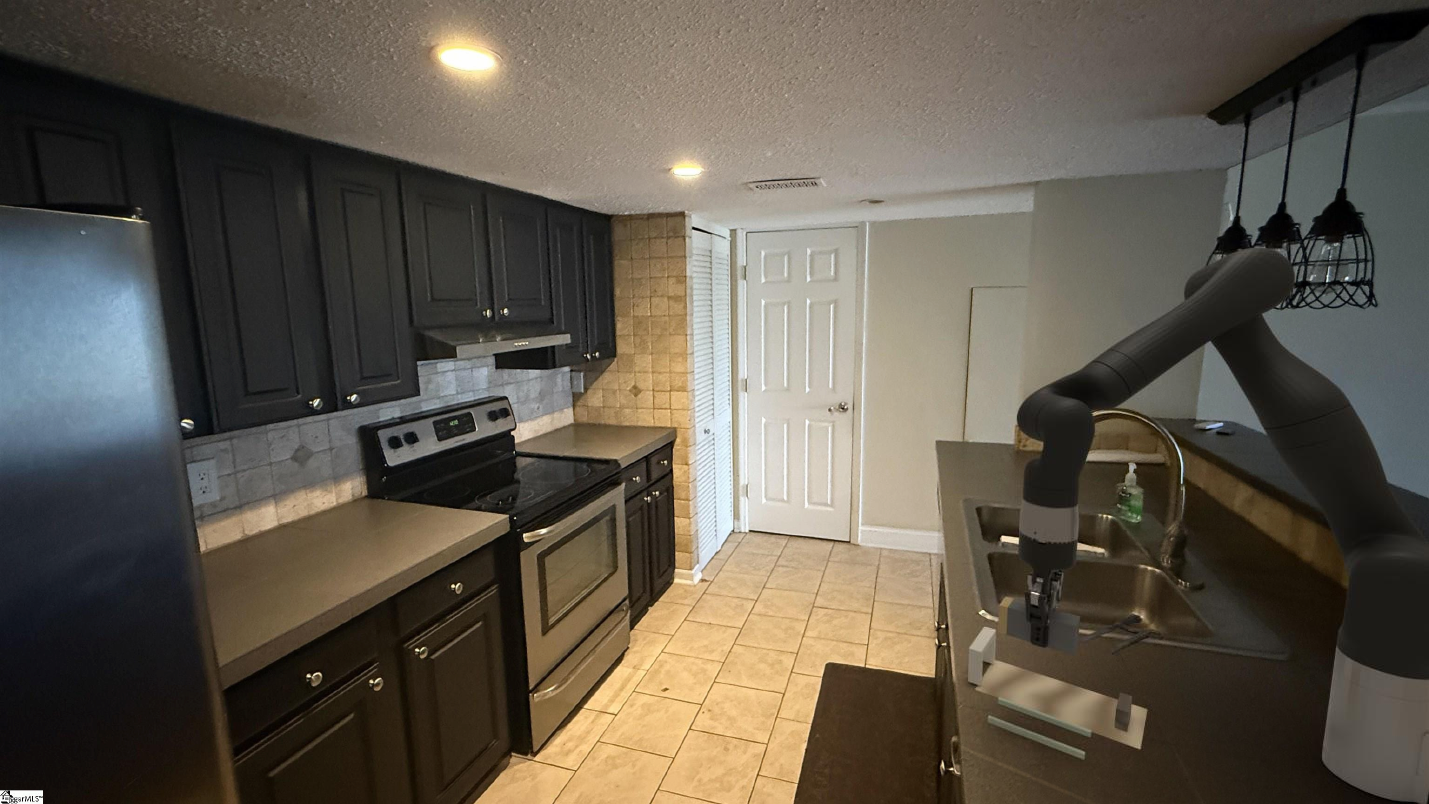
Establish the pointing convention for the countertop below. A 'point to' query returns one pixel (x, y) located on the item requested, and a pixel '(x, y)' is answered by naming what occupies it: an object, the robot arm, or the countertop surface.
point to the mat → (1036, 736)
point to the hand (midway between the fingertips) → (1042, 638)
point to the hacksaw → (1123, 625)
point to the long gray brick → (1016, 625)
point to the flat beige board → (1067, 702)
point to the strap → (981, 654)
